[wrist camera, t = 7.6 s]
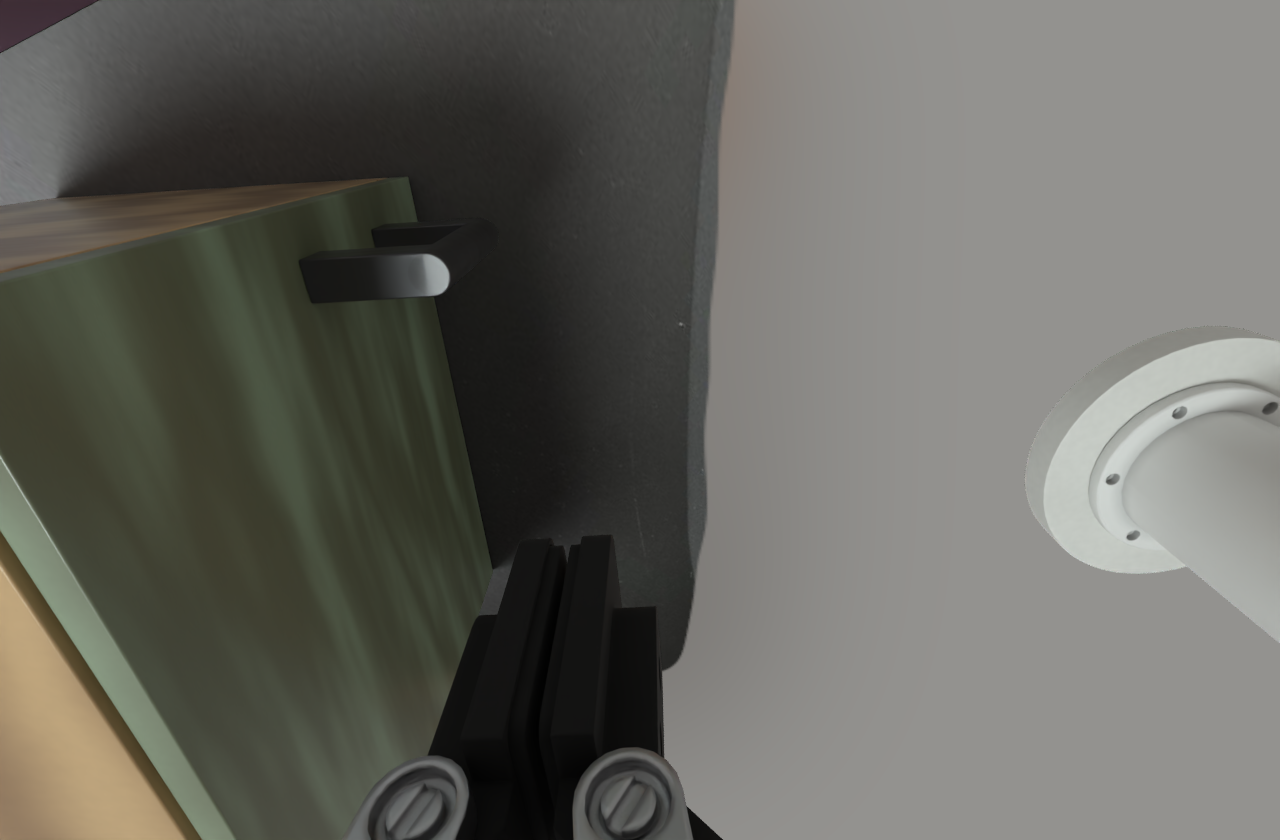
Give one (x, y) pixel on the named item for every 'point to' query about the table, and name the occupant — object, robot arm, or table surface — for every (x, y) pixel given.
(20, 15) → the book
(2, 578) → the cupboard
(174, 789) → the door
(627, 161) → the table surface
